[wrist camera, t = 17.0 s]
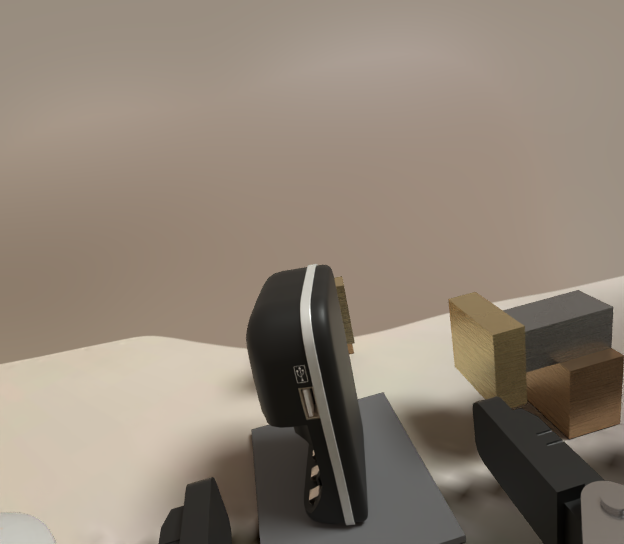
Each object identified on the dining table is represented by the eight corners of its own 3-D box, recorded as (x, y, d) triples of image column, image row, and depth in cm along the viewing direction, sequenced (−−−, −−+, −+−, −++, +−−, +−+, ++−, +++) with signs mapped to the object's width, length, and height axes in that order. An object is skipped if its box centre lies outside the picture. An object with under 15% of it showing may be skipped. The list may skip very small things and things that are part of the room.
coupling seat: (384, 397, 30) (383, 392, 30) (466, 541, 20) (465, 535, 19) (253, 434, 29) (251, 429, 29) (267, 606, 19) (264, 600, 19)
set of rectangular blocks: (323, 328, 40) (306, 249, 38) (627, 395, 26) (635, 273, 23) (260, 378, 35) (235, 289, 32) (600, 499, 20) (607, 355, 17)
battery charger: (302, 434, 27) (259, 263, 23) (364, 427, 27) (330, 251, 23) (290, 538, 21) (227, 326, 17) (370, 531, 20) (324, 312, 16)
